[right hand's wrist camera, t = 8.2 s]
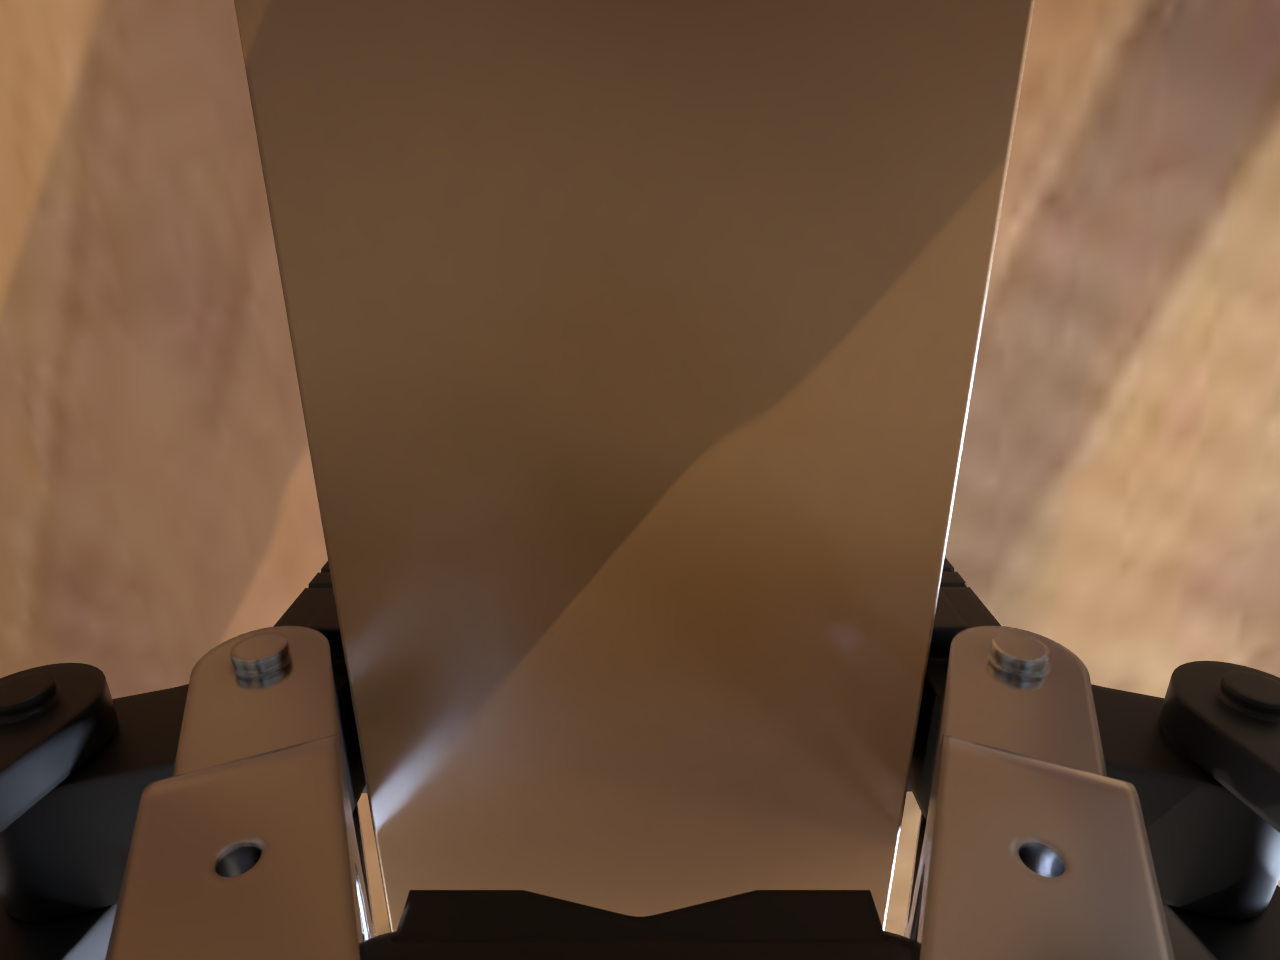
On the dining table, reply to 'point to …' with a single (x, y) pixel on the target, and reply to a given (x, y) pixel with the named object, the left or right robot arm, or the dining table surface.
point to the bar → (635, 415)
